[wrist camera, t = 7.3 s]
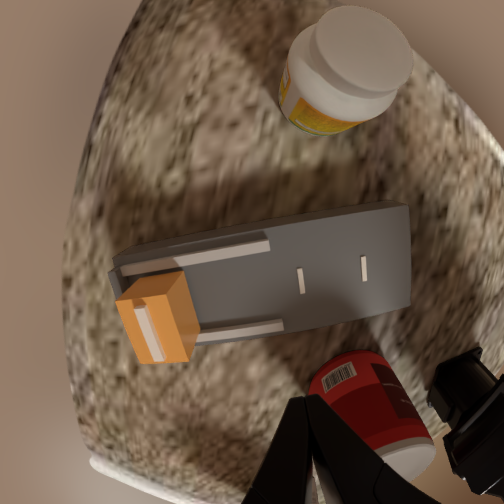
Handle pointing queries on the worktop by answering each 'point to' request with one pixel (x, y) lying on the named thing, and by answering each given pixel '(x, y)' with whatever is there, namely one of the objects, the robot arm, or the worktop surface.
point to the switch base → (285, 270)
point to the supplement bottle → (343, 71)
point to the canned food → (376, 409)
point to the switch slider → (160, 318)
